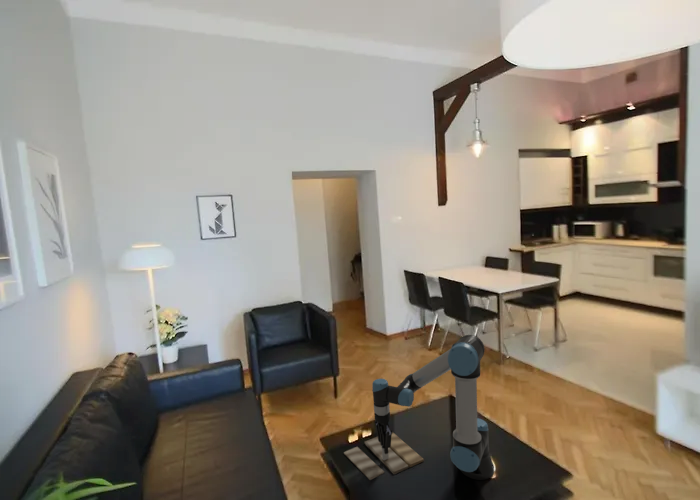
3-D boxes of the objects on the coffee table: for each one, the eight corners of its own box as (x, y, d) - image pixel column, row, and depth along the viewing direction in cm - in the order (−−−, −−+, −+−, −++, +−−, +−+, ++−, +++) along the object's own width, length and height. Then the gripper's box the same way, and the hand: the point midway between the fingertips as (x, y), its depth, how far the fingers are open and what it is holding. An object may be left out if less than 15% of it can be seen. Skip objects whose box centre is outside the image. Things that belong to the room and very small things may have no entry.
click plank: (408, 468, 175) (408, 465, 175) (394, 474, 172) (393, 471, 172) (377, 438, 200) (377, 436, 200) (364, 443, 197) (364, 441, 197)
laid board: (423, 461, 179) (423, 458, 179) (410, 467, 176) (409, 464, 176) (391, 433, 204) (391, 431, 204) (379, 438, 201) (379, 435, 201)
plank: (384, 474, 173) (384, 471, 173) (370, 481, 169) (370, 478, 169) (357, 448, 194) (357, 446, 194) (343, 454, 190) (343, 452, 190)
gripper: (396, 415, 175) (399, 463, 177) (381, 404, 186) (385, 448, 188) (382, 420, 171) (386, 468, 173) (368, 408, 183) (372, 454, 185)
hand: (385, 458), depth 181 cm, fingers closed
